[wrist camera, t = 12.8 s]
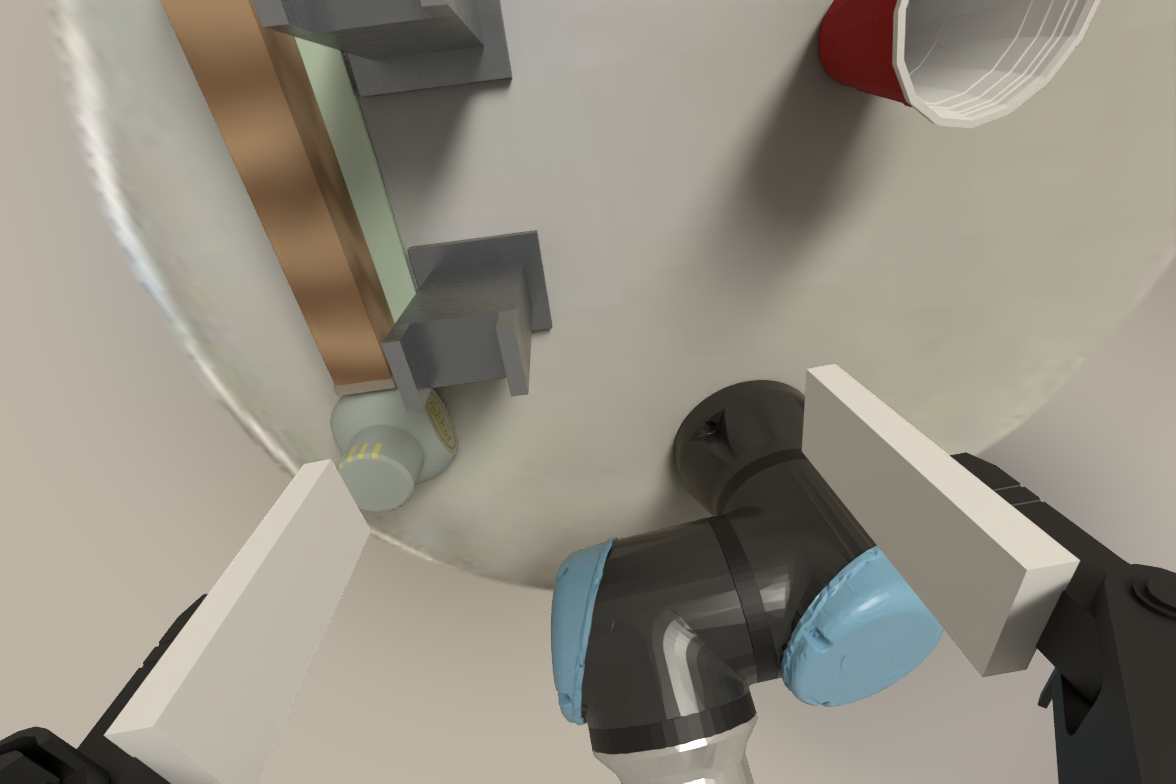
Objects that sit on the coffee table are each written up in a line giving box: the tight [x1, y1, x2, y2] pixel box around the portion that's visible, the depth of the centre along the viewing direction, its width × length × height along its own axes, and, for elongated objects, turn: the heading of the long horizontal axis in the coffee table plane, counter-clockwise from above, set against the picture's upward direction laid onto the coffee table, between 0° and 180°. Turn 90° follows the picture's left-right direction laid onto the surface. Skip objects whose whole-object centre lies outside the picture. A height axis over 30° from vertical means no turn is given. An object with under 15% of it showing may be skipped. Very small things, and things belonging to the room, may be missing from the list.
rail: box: [161, 0, 397, 396], centre depth 32 cm, size 29×5×5 cm, turn 6°
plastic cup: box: [818, 0, 1101, 128], centre depth 27 cm, size 11×11×12 cm
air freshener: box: [330, 386, 458, 512], centre depth 40 cm, size 11×8×10 cm
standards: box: [253, 0, 552, 411], centre depth 28 cm, size 26×10×14 cm, turn 6°
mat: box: [295, 37, 417, 323], centre depth 34 cm, size 28×9×1 cm, turn 6°
